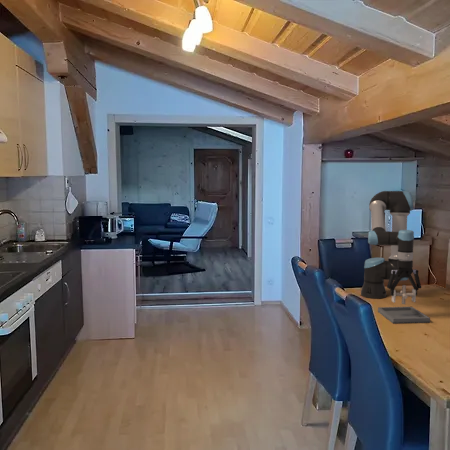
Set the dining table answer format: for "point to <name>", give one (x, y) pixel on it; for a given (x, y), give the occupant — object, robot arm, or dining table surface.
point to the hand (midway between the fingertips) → (403, 301)
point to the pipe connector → (404, 294)
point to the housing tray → (403, 315)
